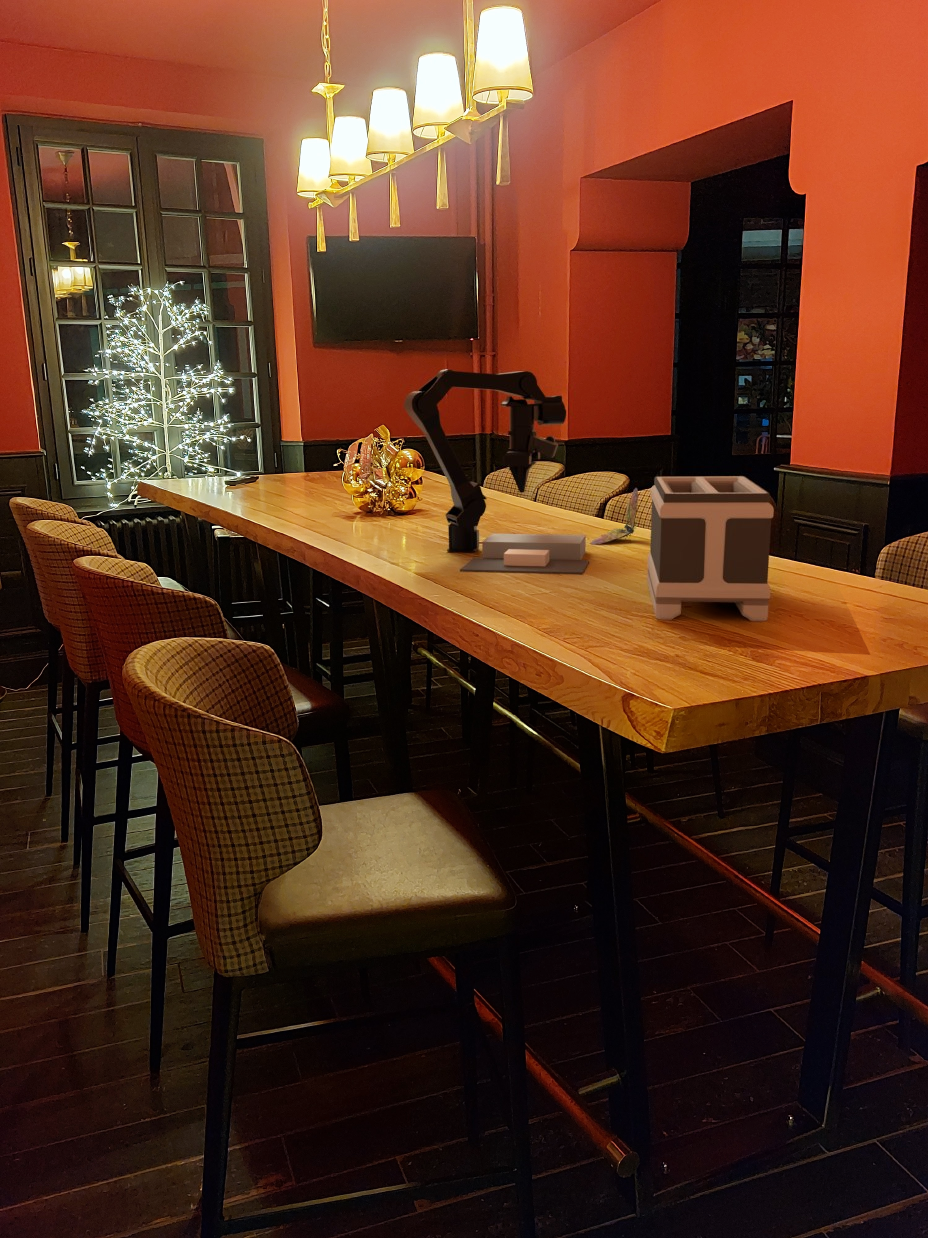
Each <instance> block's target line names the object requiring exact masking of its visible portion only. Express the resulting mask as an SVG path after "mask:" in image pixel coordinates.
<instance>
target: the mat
mask: <svg viewBox="0 0 928 1238" xmlns="http://www.w3.org/2000/svg"><path fill="white" fill-rule="evenodd" d="M589 563H590V560H589V559H581V560H562V559H549V562H548V564H547V565H546V566H509V565H504V558H483V557H473V558H472V559H470V560H469V561H468V562H467V563H466V564H464V565H463V566H462V567H461V568H460V569H459V572H479V573H480V572H481V573H482V572H483V573H515V574H516V573H519V574H521V573H522V574H555V575H556V574H558V575H559V574H561V575H584V573H585V571H586V569H587V567H588V565H589Z"/></svg>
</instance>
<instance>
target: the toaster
mask: <svg viewBox="0 0 928 1238" xmlns="http://www.w3.org/2000/svg"><path fill="white" fill-rule="evenodd" d="M653 480H654V484H653V485H652V487H651V488H650V498H651V513H650V514H651V518H650V519H651V521H650V550H649V552H648V555H647V562H646V564H647V578H646V579H647V580H646V581H647V585H648V589H649V595H650V599H651V603H652V607H653V611H654V616H655V618H656V619H657V620H658V621H672V620H674V618H676V617H678V616H681V614H682V613H681V612H682V603H683V602H685V603H734V604H735V606H736V607H737V608H738V610H739V612H740V614H741V615H742V616H743V617H744V618H746V619H748V620H749V621H750V622H765V621H767V620H768V618H769V601H770V599H771V586H770V585H769V583H768V581H769V579H768V578H769V559H770V548H771V547H770V545H771V530H772V529H771V528H772V519H773V518H774V513H775V511H774V510H775V509H774V507H773V505H772V503H770V499H771V498H770V492H768V491H767V490H765V489H764V488H762V487H761V486H760V485H758V484H756V483H755V482H753V481H752V480H750V479H749V478H747V477H746V476H743V475H739V476H738V475H737V476H735V475H733V476H732V475H731V476H730V475H729V476H725V475H724V476H723V475H721V476H719V475H718V476H717V475H715V476H714V475H713V476H712V475H711V476H709V475H708V476H702V475H701V476H698V475H697V476H655V477H654V478H653Z"/></svg>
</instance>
